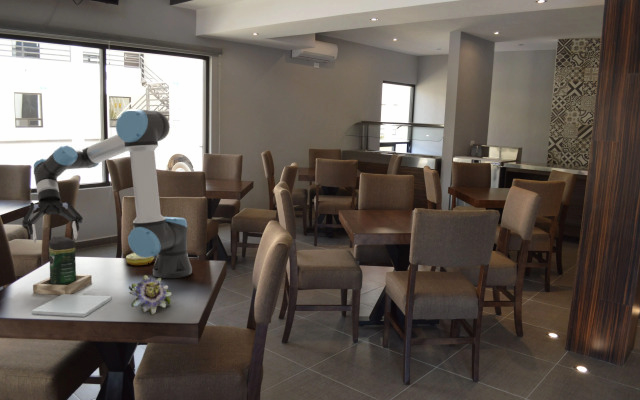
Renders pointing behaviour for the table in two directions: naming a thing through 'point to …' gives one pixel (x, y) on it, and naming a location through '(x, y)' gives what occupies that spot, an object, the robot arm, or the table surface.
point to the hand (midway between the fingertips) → (56, 239)
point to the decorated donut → (138, 259)
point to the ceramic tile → (72, 305)
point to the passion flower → (150, 294)
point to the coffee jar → (62, 261)
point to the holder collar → (62, 286)
